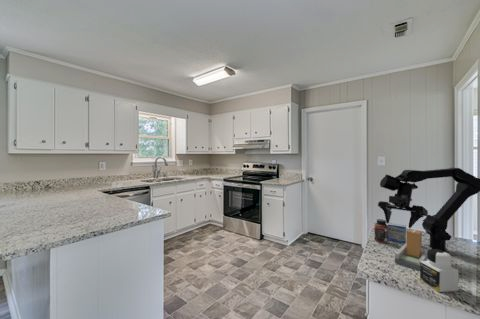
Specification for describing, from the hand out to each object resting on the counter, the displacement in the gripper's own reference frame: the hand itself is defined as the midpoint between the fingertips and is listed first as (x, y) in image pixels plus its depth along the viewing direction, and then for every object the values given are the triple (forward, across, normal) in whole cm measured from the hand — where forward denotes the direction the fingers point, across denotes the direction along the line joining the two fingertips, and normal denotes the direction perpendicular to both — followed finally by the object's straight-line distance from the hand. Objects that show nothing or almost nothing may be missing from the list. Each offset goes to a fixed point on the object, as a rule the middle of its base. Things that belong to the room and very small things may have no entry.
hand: (397, 225), depth 102 cm
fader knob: (+11, +7, +2) cm, 13 cm away
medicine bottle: (+20, +20, -9) cm, 30 cm away
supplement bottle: (+8, -11, +11) cm, 18 cm away
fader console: (+13, +7, +4) cm, 15 cm away
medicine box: (+4, -8, +18) cm, 20 cm away
